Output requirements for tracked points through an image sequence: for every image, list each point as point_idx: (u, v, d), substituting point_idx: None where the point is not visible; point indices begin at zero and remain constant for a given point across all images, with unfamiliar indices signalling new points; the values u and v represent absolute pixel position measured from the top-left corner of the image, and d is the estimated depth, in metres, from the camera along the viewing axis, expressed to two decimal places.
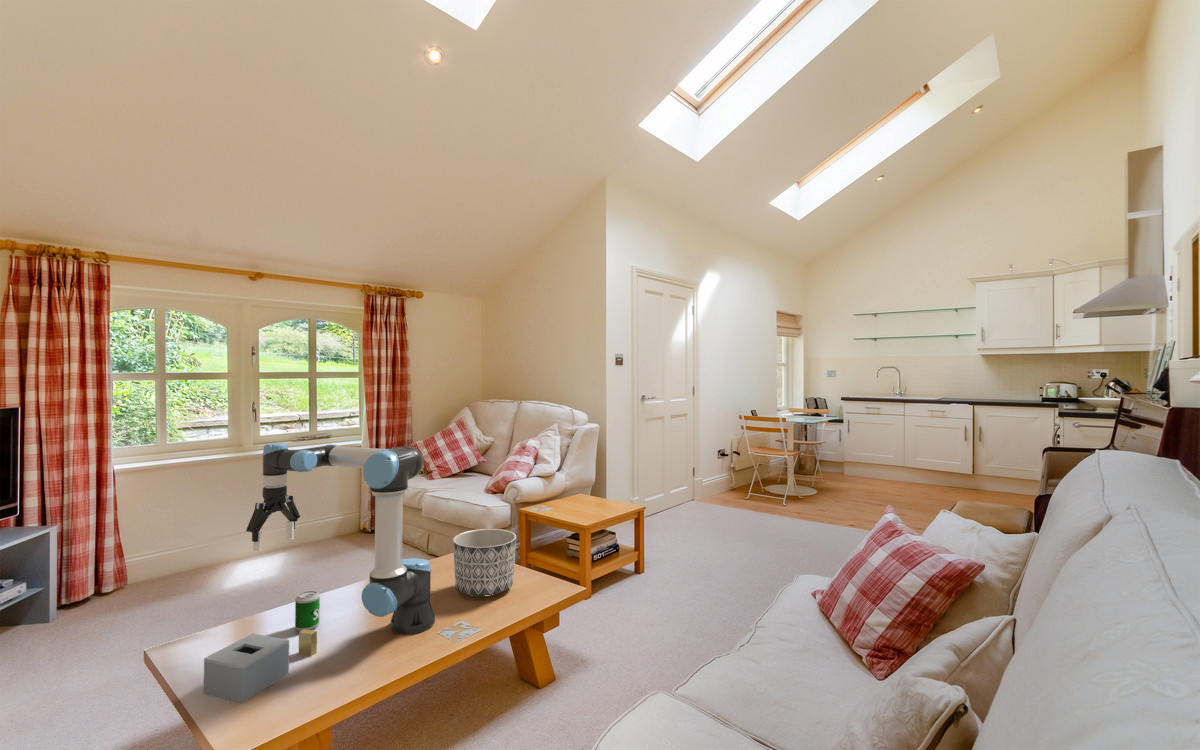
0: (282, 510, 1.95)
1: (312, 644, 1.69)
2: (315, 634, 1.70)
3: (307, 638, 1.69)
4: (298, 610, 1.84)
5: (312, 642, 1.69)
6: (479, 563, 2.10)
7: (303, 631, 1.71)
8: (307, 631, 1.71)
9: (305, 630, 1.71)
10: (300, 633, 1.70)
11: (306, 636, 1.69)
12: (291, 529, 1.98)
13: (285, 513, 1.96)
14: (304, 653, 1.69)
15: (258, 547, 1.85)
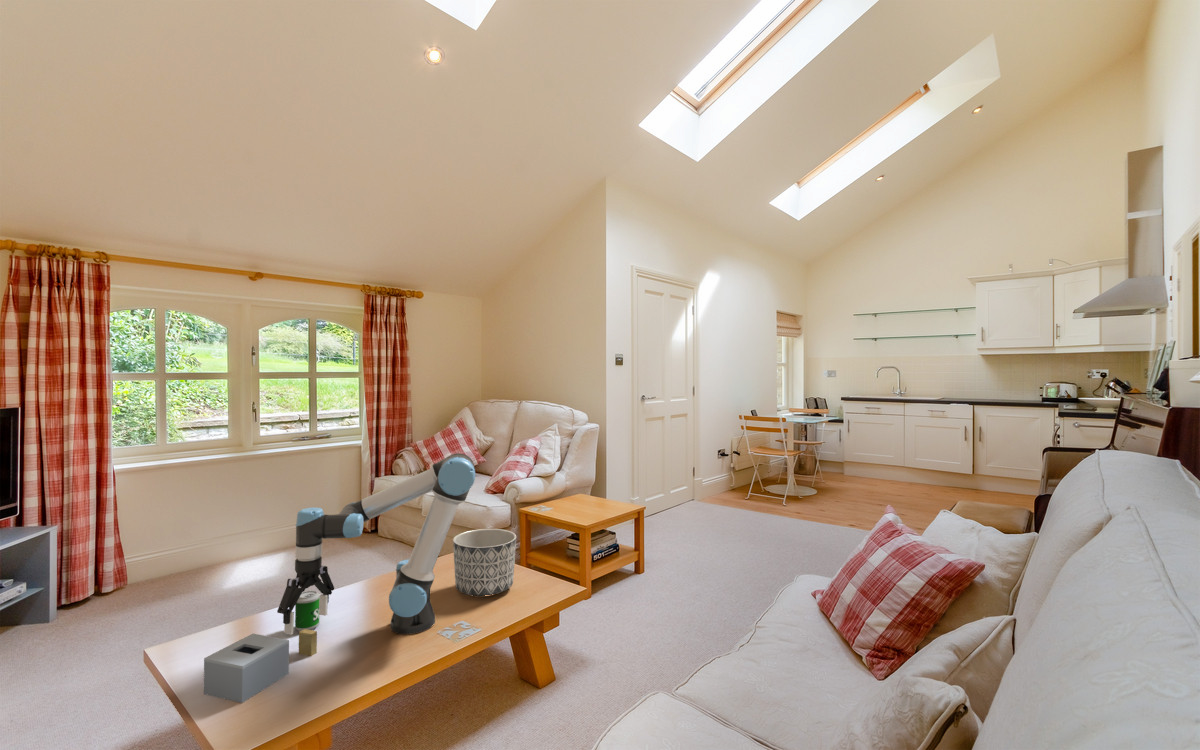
0: (315, 583, 1.73)
1: (312, 644, 1.69)
2: (315, 634, 1.70)
3: (307, 638, 1.69)
4: (298, 610, 1.84)
5: (312, 642, 1.69)
6: (479, 563, 2.10)
7: (303, 631, 1.71)
8: (307, 631, 1.71)
9: (305, 630, 1.71)
10: (300, 633, 1.70)
11: (306, 636, 1.69)
12: (325, 604, 1.76)
13: (318, 586, 1.75)
14: (304, 653, 1.69)
15: (290, 630, 1.63)
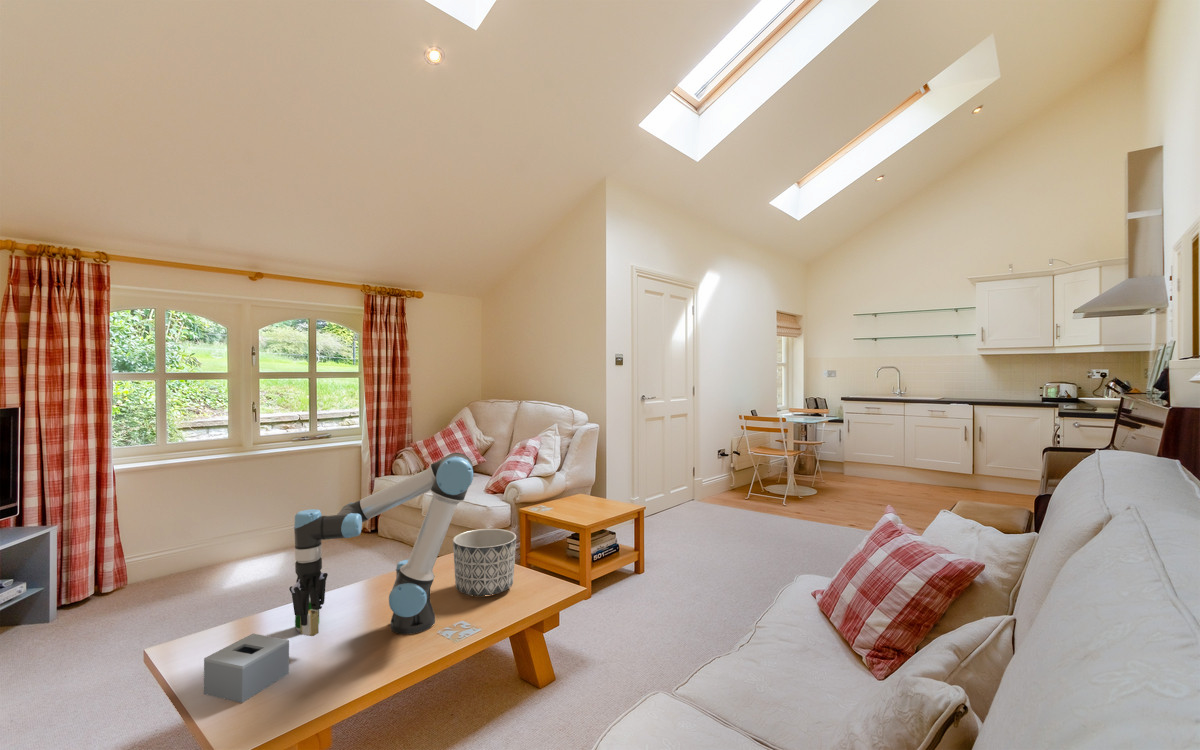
0: (312, 589, 1.72)
1: (314, 624, 1.69)
2: (316, 614, 1.70)
3: None
4: None
5: (314, 622, 1.69)
6: (479, 563, 2.10)
7: None
8: (308, 611, 1.71)
9: None
10: None
11: None
12: None
13: (313, 594, 1.72)
14: None
15: (308, 631, 1.69)
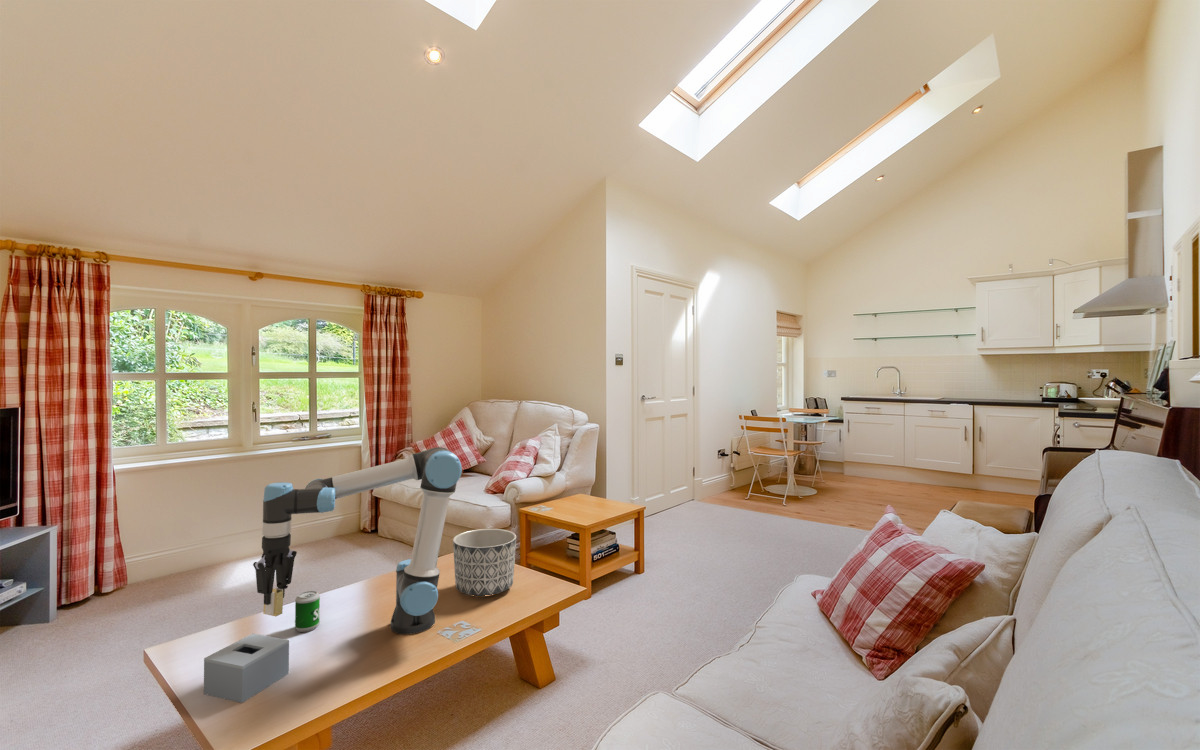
0: (278, 567, 1.62)
1: (277, 604, 1.60)
2: (281, 593, 1.61)
3: None
4: (298, 610, 1.84)
5: (277, 602, 1.60)
6: (479, 563, 2.10)
7: None
8: (273, 590, 1.61)
9: None
10: None
11: None
12: None
13: (279, 572, 1.62)
14: None
15: (270, 611, 1.59)
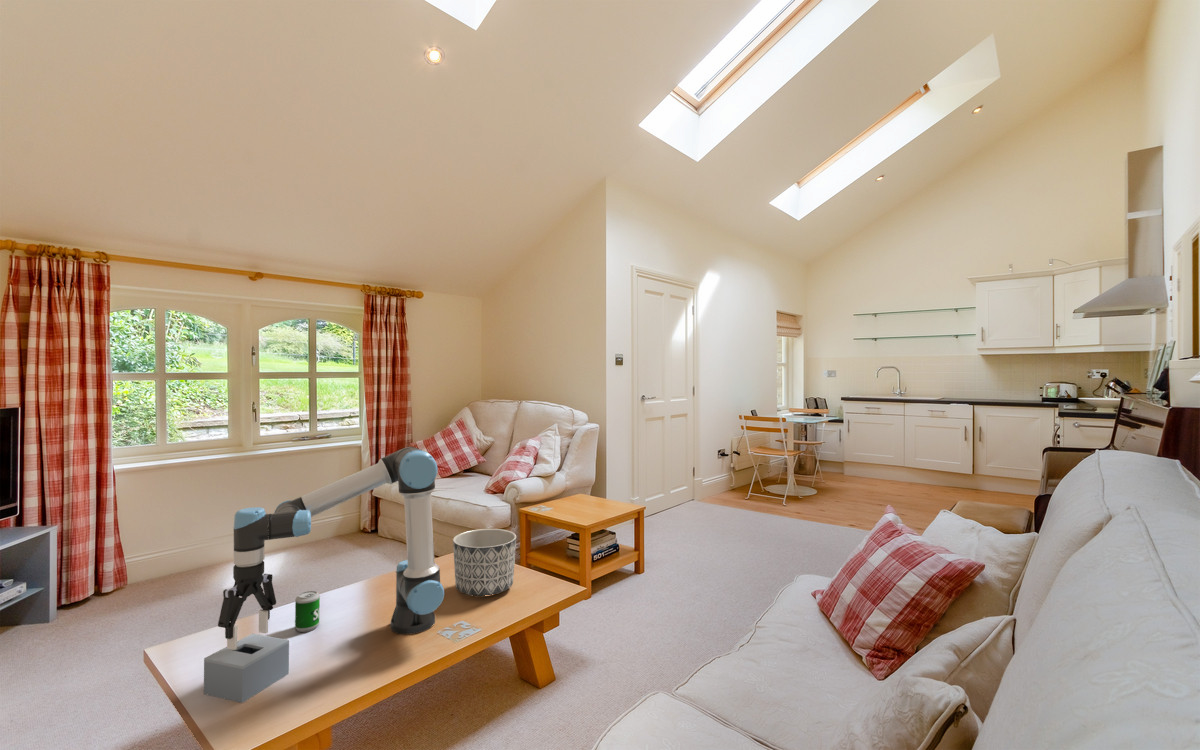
0: (256, 593, 1.56)
1: None
2: None
3: None
4: (298, 610, 1.84)
5: None
6: (479, 563, 2.10)
7: None
8: None
9: None
10: None
11: None
12: (265, 620, 1.58)
13: (259, 598, 1.57)
14: None
15: (233, 645, 1.48)
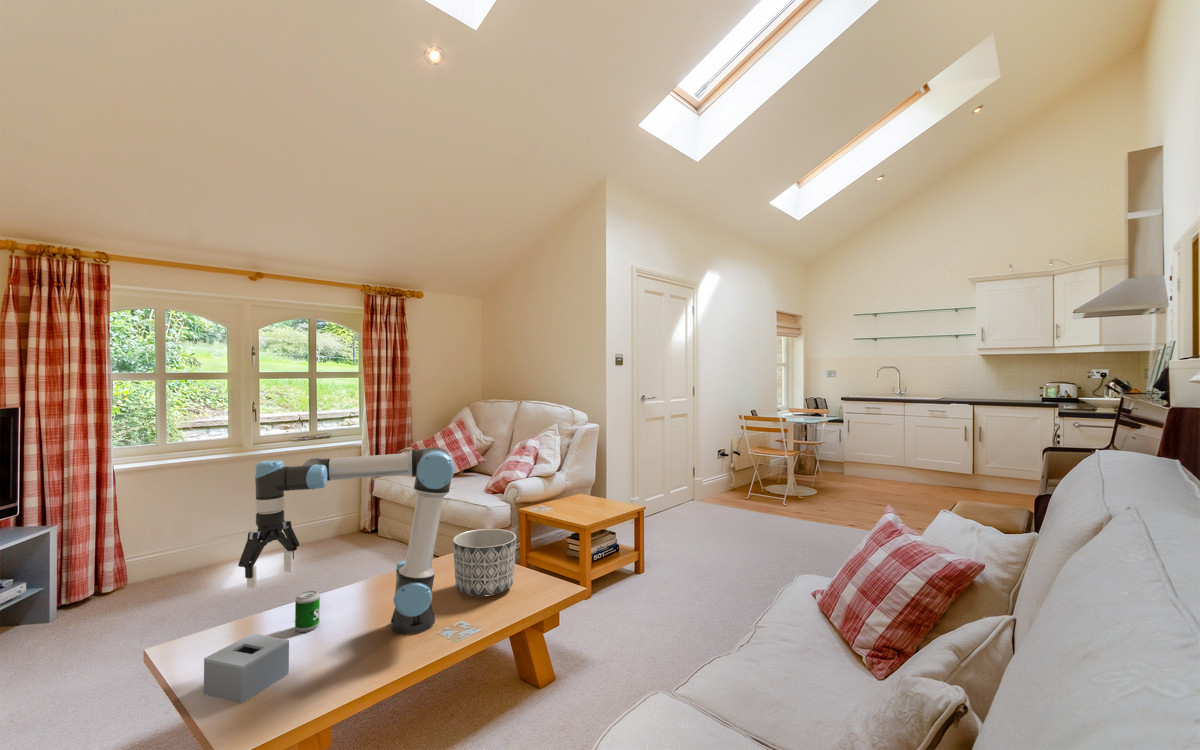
0: (279, 538, 1.68)
1: None
2: None
3: None
4: (298, 610, 1.84)
5: None
6: (479, 563, 2.10)
7: None
8: None
9: None
10: None
11: None
12: (290, 560, 1.71)
13: (282, 542, 1.69)
14: None
15: (253, 584, 1.57)
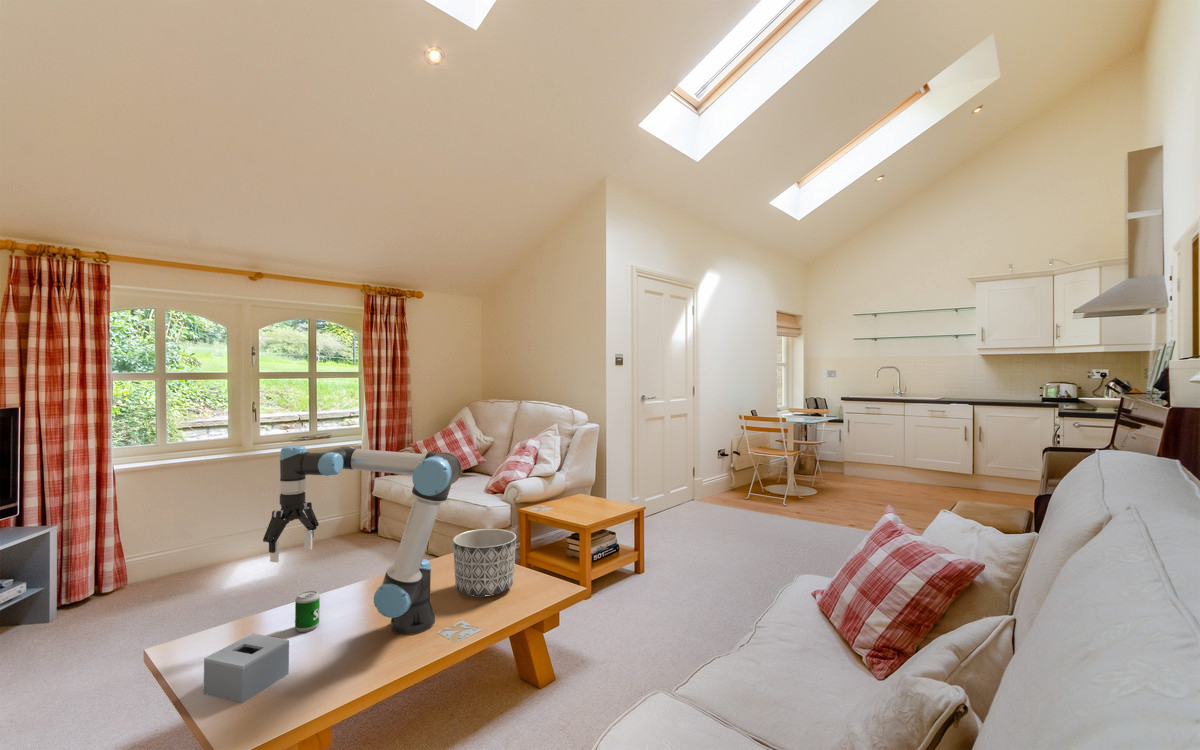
0: (300, 518, 1.82)
1: None
2: None
3: None
4: (298, 610, 1.84)
5: None
6: (479, 563, 2.10)
7: None
8: None
9: None
10: None
11: None
12: (309, 538, 1.85)
13: (303, 521, 1.83)
14: None
15: (275, 558, 1.72)
